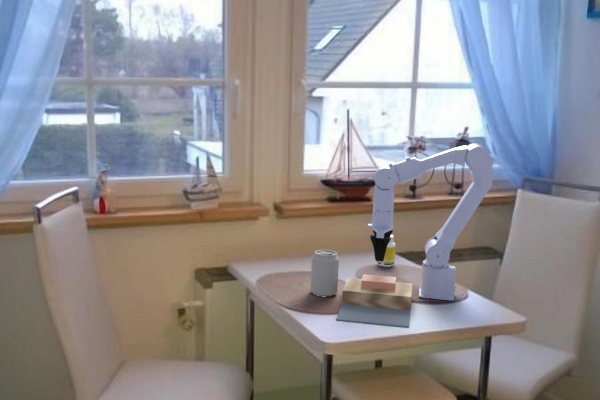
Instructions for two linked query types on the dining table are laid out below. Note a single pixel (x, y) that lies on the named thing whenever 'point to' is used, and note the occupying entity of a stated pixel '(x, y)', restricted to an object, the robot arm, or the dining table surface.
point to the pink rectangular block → (378, 282)
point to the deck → (377, 295)
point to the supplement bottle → (389, 254)
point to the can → (324, 273)
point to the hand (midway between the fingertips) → (380, 257)
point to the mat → (374, 315)
